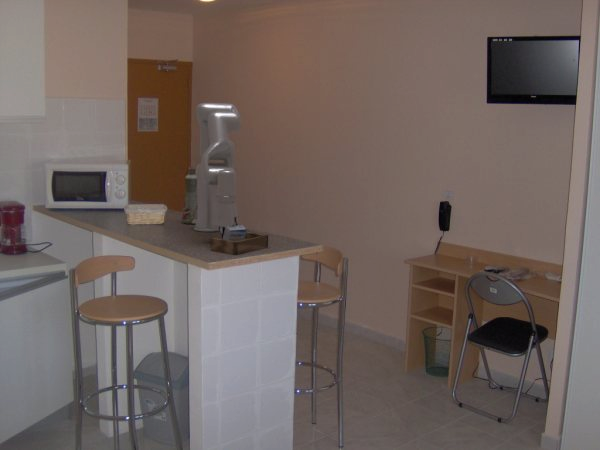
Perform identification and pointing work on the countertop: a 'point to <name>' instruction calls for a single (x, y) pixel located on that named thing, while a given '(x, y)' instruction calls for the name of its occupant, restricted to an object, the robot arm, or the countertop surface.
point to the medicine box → (234, 233)
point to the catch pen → (240, 244)
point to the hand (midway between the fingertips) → (225, 243)
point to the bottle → (190, 198)
